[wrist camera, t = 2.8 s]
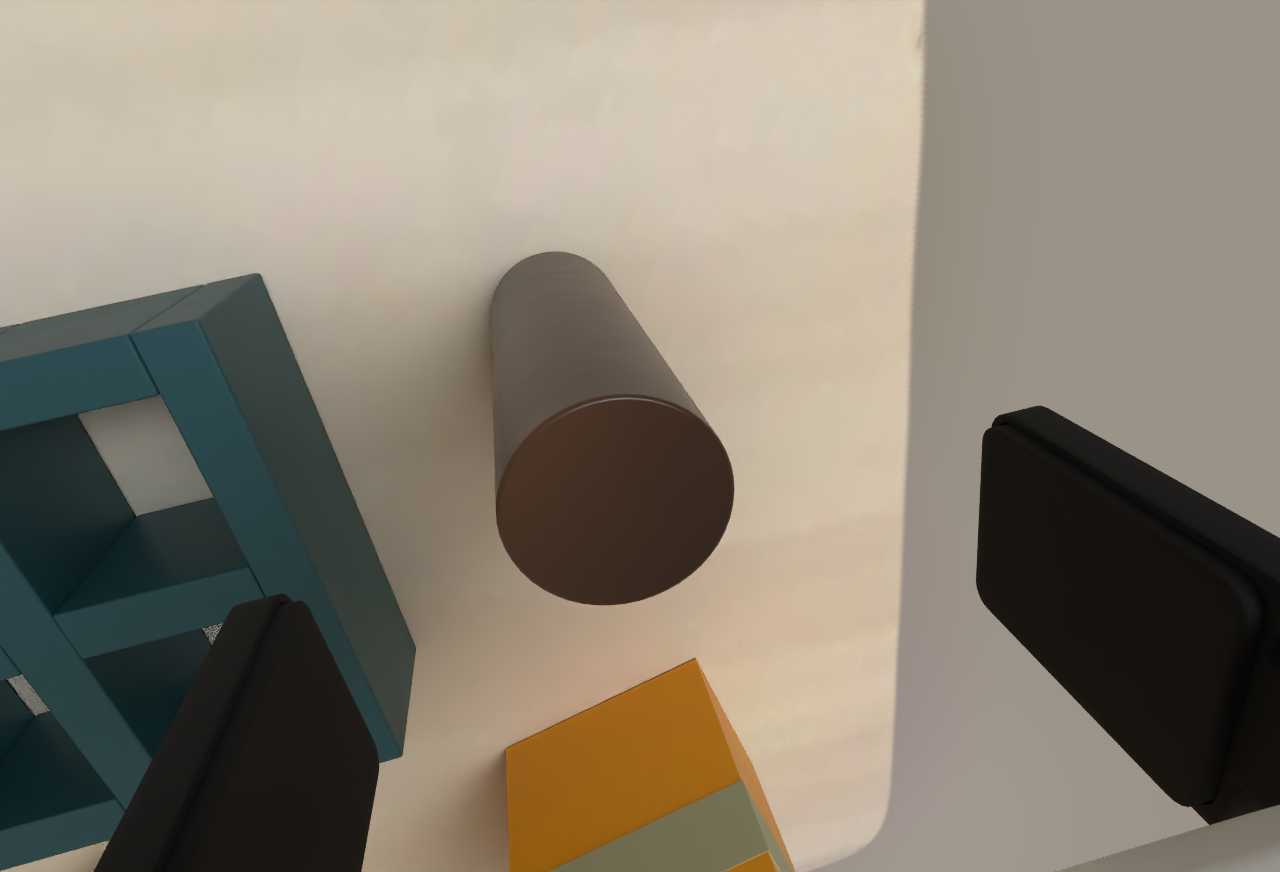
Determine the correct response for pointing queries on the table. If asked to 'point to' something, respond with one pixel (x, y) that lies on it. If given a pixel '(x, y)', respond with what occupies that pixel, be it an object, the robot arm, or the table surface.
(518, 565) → the peg
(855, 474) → the table surface
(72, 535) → the teal square grid frame
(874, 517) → the table surface
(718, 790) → the orange juice
